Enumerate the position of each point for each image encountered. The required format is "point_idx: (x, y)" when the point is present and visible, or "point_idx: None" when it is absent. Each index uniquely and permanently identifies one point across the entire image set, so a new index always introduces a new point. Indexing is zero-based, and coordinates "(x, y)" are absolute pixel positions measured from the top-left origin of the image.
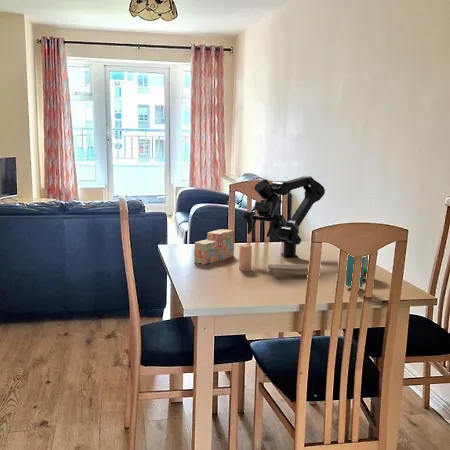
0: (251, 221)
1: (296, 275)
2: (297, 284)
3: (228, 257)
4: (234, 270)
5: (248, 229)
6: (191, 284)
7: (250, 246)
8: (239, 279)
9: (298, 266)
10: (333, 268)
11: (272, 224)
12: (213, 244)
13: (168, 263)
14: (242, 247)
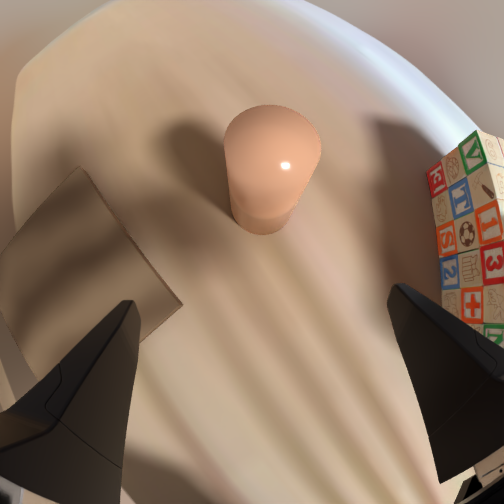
0: (494, 417)
1: (26, 225)
2: (21, 169)
3: None
4: None
5: (428, 307)
6: (285, 9)
7: (232, 147)
8: (198, 85)
9: (57, 356)
10: None
11: (29, 418)
12: (487, 193)
13: None
14: (269, 106)
